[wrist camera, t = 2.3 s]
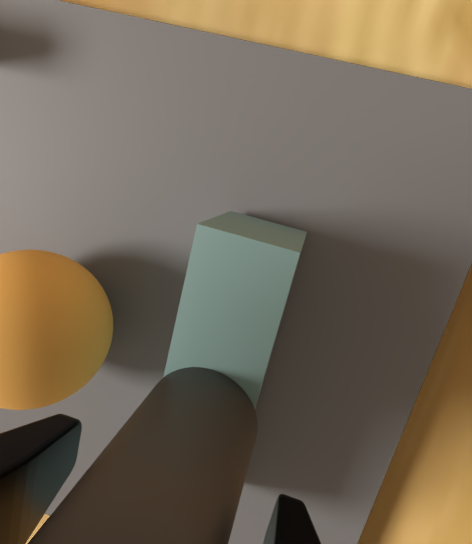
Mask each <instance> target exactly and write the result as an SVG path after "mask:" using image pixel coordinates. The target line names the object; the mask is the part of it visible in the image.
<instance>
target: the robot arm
mask: <svg viewBox="0 0 472 544" xmlns="http://www.w3.org/2000/svg"><path fill="white" fill-rule="evenodd" d="M81 431H82V423H81V421H80V420H78V419H76V418H73V417H70V416H68V415H65V414H56V415H53V416H50V417H47V418H44V419H41V420H38V421H35V422H32V423H29V424H26V425H23V426H20V427H17V428H14V429H11V430H8V431H5V432H2V433H0V544H25V543H26V542H27V540H28V538H29V537H30V535H31V534H32V532H33V531H34V529H35V528H36V526H37V525H38V523H39V521H40V520H41V518H42V517H43V515H44V514H45V512H46V511H47V509H48V508H49V506H50V504H51V503H52V501H53V500H54V498H55V497H56V495H57V494H58V492H59V491H60V489H61V487H62V486H63V484H64V483H65V481H66V480H67V478H68V477H69V475H70V473H71V472H72V470H73V468H74V466H75V463H76V460H77V455H78V449H79V443H80V437H81ZM263 544H321V542H320V539H319V537H318V535H317V532H316V530H315V527H314V525H313V523H312V520H311V518H310V515H309V513H308V511H307V508H306V506H305V504H304V503H303V501H301V500H299V499H296V498H293V497H291V496H288V495H285V494H280V495H279V496H278V498H277V501H276V504H275V507H274V510H273V513H272V516H271V519H270V522H269V525H268V528H267V531H266V534H265V538H264V542H263Z"/></svg>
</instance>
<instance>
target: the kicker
mask: <svg viewBox="0 0 472 544" xmlns="http://www.w3.org/2000/svg"><path fill="white" fill-rule="evenodd" d="M306 234H307V232H306V231H303V230H299V229H295V228H292V227H288V226H284V225H281V224H277V223H273V222H270V221H266V220H262V219H259V218H255V217H251V216H248V215H244V214H240V213H237V212H233V211H230V212H227V213H224V214H222V215H219V216H216V217H214V218H211V219H208V220H206V221H203V222H200V223H198V224H197V226H196V231H195V236H194V240H193V245H192V249H191V254H190V258H189V263H188V267H187V272H186V276H185V281H184V285H183V290H182V294H181V299H180V304H179V308H178V313H177V317H176V322H175V326H174V331H173V335H172V340H171V344H170V349H169V353H168V358H167V363H166V367H165V372H164V376H163V378H162V379H161V380H160V381H159V382H158V383H157V384H156V386H155V387H154V388H153V389H152V391H151V392H150V393H149V394H148V396H147V397H146V398H145V399H144V401H143V402H142V403H141V404H140V405H139V407H138V408H137V409H136V410H135V412H134V413H133V414H132V415H131V417H130V418H129V419H128V420H127V422H126V423H125V424H124V425H123V427H122V428H121V429H120V430H119V431H118V433H117V434H116V435H115V436H114V438H113V439H112V440H111V441H110V443H109V444H108V445H107V446H106V448H105V449H104V450H103V451H102V452H101V454H100V455H99V456H98V457H97V459H96V460H95V461H94V462H93V464H92V465H91V466H90V467H89V469H88V470H87V471H86V472H85V473H84V475H83V476H82V477H81V478H80V480H79V481H78V482H77V483H76V485H75V486H74V487H73V488H72V490H71V491H70V492H69V493H68V495H67V496H66V497H65V498H64V499H63V501H62V502H61V503H60V504H59V506H58V507H57V508H56V509H55V511H54V512H53V513H52V514H51V516H50V517H49V518H48V519H47V520H46V522H45V523H44V524H43V525H42V527H41V528H40V529H39V530H38V532H37V533H36V534H35V535H34V537H33V538H32V539H31V540H30V542H29V543H28V544H228V542H229V539H230V535H231V531H232V527H233V523H234V520H235V516H236V512H237V508H238V505H239V501H240V497H241V493H242V489H243V486H244V482H245V478H246V474H247V471H248V467H249V463H250V459H251V455H252V452H253V448H254V444H255V440H256V436H257V429H258V423H257V416H256V411H255V408H256V404H257V401H258V397H259V394H260V391H261V387H262V384H263V380H264V377H265V374H266V370H267V367H268V363H269V360H270V357H271V353H272V350H273V346H274V343H275V339H276V336H277V333H278V329H279V326H280V322H281V319H282V316H283V312H284V309H285V305H286V302H287V299H288V295H289V292H290V288H291V285H292V281H293V278H294V275H295V271H296V268H297V264H298V261H299V258H300V254H301V251H302V247H303V244H304V241H305V237H306Z"/></svg>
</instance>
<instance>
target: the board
mask: <svg viewBox="0 0 472 544" xmlns="http://www.w3.org/2000/svg"><path fill="white" fill-rule="evenodd" d="M230 211H233V212H237V213H240V214H244V215H248V216H251V217H255V218H259V219H262V220H266V221H270V222H273V223H277V224H281V225H284V226H288V227H292V228H295V229H299V230H303V231H306V232H307V234H306V237H305V241H304V244H303V247H302V251H301V254H300V258H299V261H298V264H297V268H296V271H295V275H294V278H293V281H292V285H291V288H290V292H289V295H288V299H287V302H286V305H285V309H284V312H283V316H282V319H281V322H280V326H279V329H278V333H277V336H276V339H275V343H274V346H273V350H272V353H271V357H270V360H269V363H268V367H267V370H266V374H265V377H264V380H263V384H262V387H261V391H260V394H259V397H258V401H257V404H256V408H255V411H256V416H257V423H258V429H257V436H256V440H255V444H254V448H253V452H252V455H251V459H250V463H249V467H248V471H247V474H246V478H245V482H244V486H243V489H242V493H241V497H240V501H239V505H238V508H237V512H236V516H235V520H234V523H233V527H232V531H231V535H230V539H229V542H228V544H263V542H264V538H265V534H266V531H267V528H268V525H269V522H270V519H271V516H272V513H273V510H274V507H275V504H276V501H277V498H278V496H279V495H280V494H285V495H288V496H291V497H293V498H296V499H299V500H301V501H303V503H304V504H305V506H306V508H307V511H308V513H309V515H310V518H311V520H312V523H313V525H314V527H315V530H316V532H317V535H318V537H319V539H320V542H321V544H357V543H358V541H359V538H360V536H361V533H362V531H363V529H364V526H365V524H366V521H367V519H368V516H369V514H370V511H371V509H372V507H373V504H374V502H375V499H376V497H377V494H378V492H379V489H380V487H381V484H382V482H383V480H384V477H385V475H386V472H387V470H388V467H389V465H390V462H391V460H392V458H393V455H394V453H395V450H396V448H397V445H398V443H399V440H400V438H401V436H402V433H403V431H404V428H405V426H406V423H407V421H408V418H409V416H410V414H411V411H412V409H413V406H414V404H415V401H416V399H417V396H418V394H419V391H420V389H421V387H422V384H423V382H424V379H425V377H426V374H427V372H428V369H429V367H430V365H431V362H432V360H433V357H434V355H435V352H436V350H437V347H438V345H439V343H440V340H441V338H442V335H443V333H444V330H445V328H446V325H447V323H448V321H449V318H450V316H451V313H452V311H453V308H454V306H455V303H456V301H457V299H458V296H459V294H460V291H461V289H462V286H463V284H464V281H465V279H466V276H467V274H468V272H469V269H470V267H471V264H472V89H470V88H465V87H460V86H456V85H451V84H446V83H442V82H437V81H432V80H428V79H423V78H418V77H414V76H409V75H404V74H400V73H395V72H390V71H386V70H381V69H376V68H372V67H367V66H362V65H358V64H353V63H348V62H344V61H339V60H334V59H330V58H325V57H320V56H316V55H311V54H306V53H302V52H297V51H293V50H288V49H283V48H279V47H274V46H269V45H265V44H260V43H255V42H251V41H246V40H241V39H237V38H232V37H227V36H223V35H218V34H213V33H209V32H204V31H199V30H195V29H190V28H185V27H181V26H176V25H171V24H167V23H162V22H157V21H153V20H148V19H143V18H139V17H134V16H129V15H125V14H120V13H115V12H111V11H106V10H101V9H97V8H92V7H87V6H83V5H78V4H73V3H69V2H64V1H59V0H0V254H2V253H6V252H11V251H17V250H43V251H48V252H53V253H57V254H60V255H63V256H65V257H68V258H70V259H72V260H73V261H75V262H77V263H79V264H80V265H82V266H83V267H84V268H86V269H87V270H88V271H89V272H90V273H91V274H92V275H93V276H94V277H95V278H96V279H97V280H98V282H99V283H100V285H101V286H102V287H103V289H104V291H105V293H106V295H107V297H108V300H109V302H110V306H111V309H112V315H113V335H112V341H111V345H110V348H109V351H108V354H107V356H106V358H105V360H104V362H103V364H102V365H101V367H100V368H99V370H98V372H97V373H96V374H95V375H94V376H93V378H92V379H91V380H90V381H89V382H88V383H87V384H86V385H85V386H83V387H82V388H81V389H80V390H78V391H77V392H76V393H74V394H73V395H71V396H69V397H68V398H66V399H64V400H62V401H59V402H57V403H55V404H52V405H49V406H45V407H41V408H37V409H27V410H11V409H3V408H0V433H2V432H5V431H8V430H11V429H14V428H17V427H20V426H23V425H26V424H29V423H32V422H35V421H38V420H41V419H44V418H47V417H50V416H53V415H56V414H65V415H68V416H70V417H73V418H76V419H78V420H80V421H81V423H82V431H81V437H80V443H79V449H78V455H77V460H76V463H75V466H74V468H73V470H72V472H71V473H70V475H69V477H68V478H67V480H66V481H65V483H64V484H63V486H62V487H61V489H60V491H59V492H58V494H57V495H56V497H55V498H54V500H53V501H52V503H51V504H50V506H49V508H48V509H47V511H46V512H45V514H47V515H50V516H51V514H52V513H53V512H54V511H55V509H56V508H57V507H58V506H59V504H60V503H61V502H62V501H63V499H64V498H65V497H66V496H67V495H68V493H69V492H70V491H71V490H72V488H73V487H74V486H75V485H76V483H77V482H78V481H79V480H80V478H81V477H82V476H83V475H84V473H85V472H86V471H87V470H88V469H89V467H90V466H91V465H92V464H93V462H94V461H95V460H96V459H97V457H98V456H99V455H100V454H101V452H102V451H103V450H104V449H105V448H106V446H107V445H108V444H109V443H110V441H111V440H112V439H113V438H114V436H115V435H116V434H117V433H118V431H119V430H120V429H121V428H122V427H123V425H124V424H125V423H126V422H127V420H128V419H129V418H130V417H131V415H132V414H133V413H134V412H135V410H136V409H137V408H138V407H139V405H140V404H141V403H142V402H143V401H144V399H145V398H146V397H147V396H148V394H149V393H150V392H151V391H152V389H153V388H154V387H155V386H156V384H157V383H158V382H159V381H160V380H161V379H162V378H163V376H164V372H165V367H166V363H167V358H168V353H169V349H170V344H171V340H172V335H173V331H174V326H175V322H176V317H177V313H178V308H179V304H180V299H181V294H182V290H183V285H184V281H185V276H186V272H187V267H188V263H189V258H190V254H191V249H192V245H193V240H194V236H195V231H196V226H197V224H198V223H200V222H203V221H206V220H208V219H211V218H214V217H216V216H219V215H222V214H224V213H227V212H230Z"/></svg>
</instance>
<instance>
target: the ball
mask: <svg viewBox="0 0 472 544" xmlns="http://www.w3.org/2000/svg"><path fill="white" fill-rule="evenodd" d="M112 335H113V315H112V309H111V306H110V302H109V300H108V297H107V295H106V293H105V291H104V289H103V287H102V286H101V285H100V283H99V282H98V280H97V279H96V278H95V277H94V276H93V275H92V274H91V273H90V272H89V271H88V270H87V269H86V268H84V267H83V266H82V265H80V264H79V263H77V262H75V261H73V260H72V259H70V258H68V257H65V256H63V255H60V254H57V253H53V252H48V251H43V250H17V251H11V252H6V253H2V254H0V408H3V409H11V410H27V409H37V408H41V407H45V406H49V405H52V404H55V403H57V402H59V401H62V400H64V399H66V398H68V397H69V396H71V395H73V394H74V393H76V392H77V391H78V390H80V389H81V388H82V387H83V386H85V385H86V384H87V383H88V382H89V381H90V380H91V379H92V378H93V376H94V375H95V374H96V373H97V372H98V370H99V368H100V367H101V365H102V364H103V362H104V360H105V358H106V356H107V354H108V351H109V348H110V345H111V341H112Z"/></svg>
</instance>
